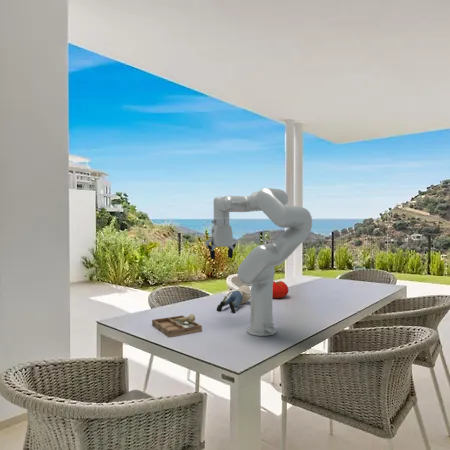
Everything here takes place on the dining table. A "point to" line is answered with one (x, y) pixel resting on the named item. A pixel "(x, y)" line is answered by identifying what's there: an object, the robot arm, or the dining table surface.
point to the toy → (236, 298)
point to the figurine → (186, 319)
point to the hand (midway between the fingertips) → (221, 258)
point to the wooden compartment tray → (176, 326)
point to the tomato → (279, 289)
